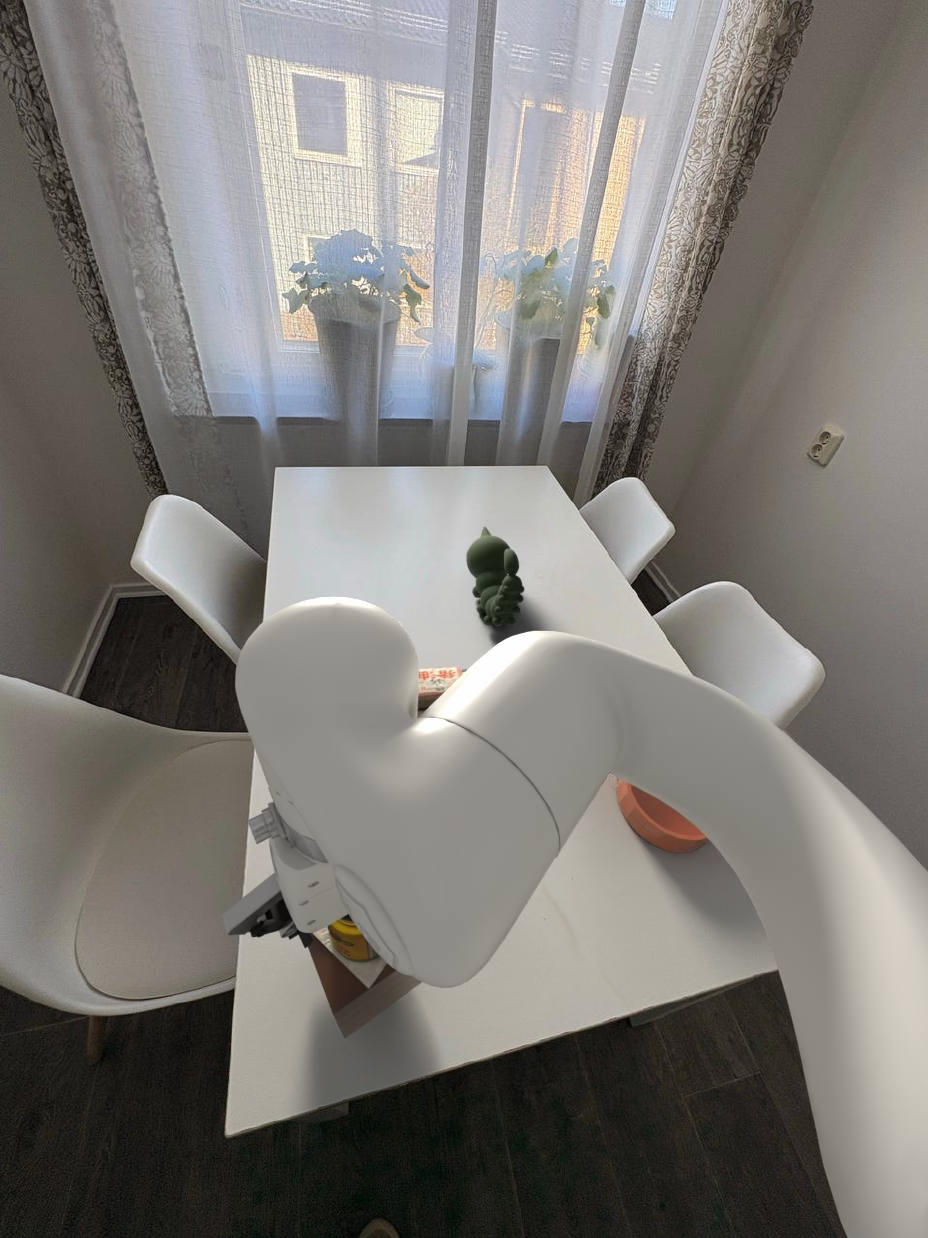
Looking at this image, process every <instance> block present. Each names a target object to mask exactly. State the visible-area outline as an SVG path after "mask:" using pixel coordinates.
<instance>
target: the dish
mask: <svg viewBox="0 0 928 1238" xmlns="http://www.w3.org/2000/svg"><path fill="white" fill-rule="evenodd" d="M617 779H618V780H617V785H616V795H617V801H618V807H619V809H620V810H621V812H622V814H623V816H624V819H625V821H626V822H627V823H628V824H629V825H630V827H631V828H632V829H633V830H634V831H635V832H636V833H637V835H638V836H639V837H642V838H643V839H644V840H646V841H647V842H648V843H649V844H651V845H653V846H655V847H657V848H661V849H663V850H665V851H667V852H676V853H688V852H691V851H696V850H698V849H700V848H701V847H702V846H703V845H705V844H706V843H707V842H708V841H710V840H709V839H708V838H707V837H706V836H705V835H704V834H703V833H702V832H701V831H700V830H699V829H698V828H697V827H696V826H695V825H694V824H692V823H691V822H690V821H689V820H687V819H686V818H685V817H684V816H682V815H681V814H680V813H679V812H677V811H676V810H675V809H673V808H672V807H670V806H668V805H667V804H665V803H664V802H662V801H661V800H659V799H657V798H656V797H654V796H652V795H650V794H648V793H646V792H645V791H643V790H641V789H639V788H637V787H636V786H633V785H631V784H629V783H627V782H625V781H623V780H621V779H619V778H617Z"/></svg>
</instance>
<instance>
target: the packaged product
mask: <svg viewBox="0 0 928 1238" xmlns="http://www.w3.org/2000/svg"><path fill="white" fill-rule="evenodd" d="M467 670H468V669H467V668H462V669H461V667H460V666H447V667H430V668H419V693H418V710H417V718H418V717H419V716H420V715H421V714H422V713H423V712H425V711H426V710H427V709H428V708H429V707H430V706H431V705H432V704H433V703H434V702H435V701H436V700H437V699H438V698H439V697H440V696H441V695H442V694H443V693H444V692H445V691H446V690H447V689H448V688H449V687H450V686H451V685H452V684H453V683H454V682H455V681H456V680H458V679H459V678H460V677H461V676H462V675H463V674H464V673H465V672H466V671H467Z"/></svg>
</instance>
